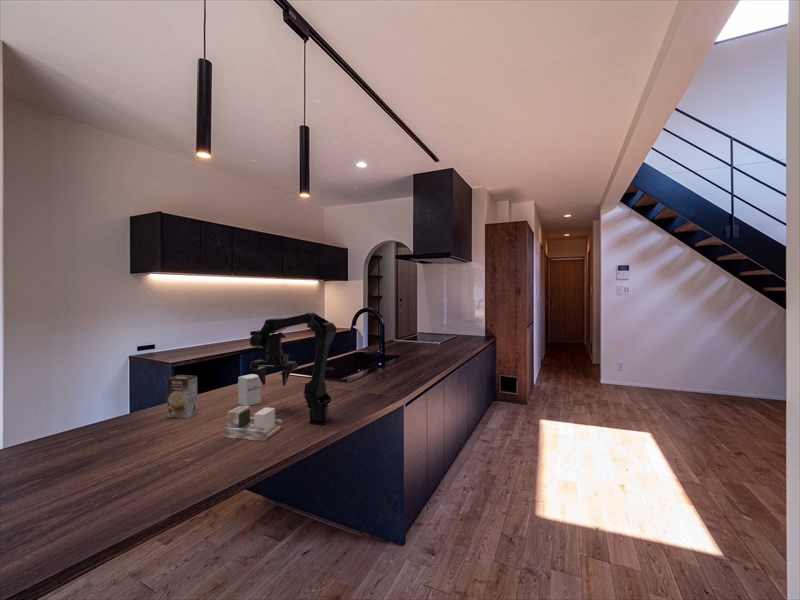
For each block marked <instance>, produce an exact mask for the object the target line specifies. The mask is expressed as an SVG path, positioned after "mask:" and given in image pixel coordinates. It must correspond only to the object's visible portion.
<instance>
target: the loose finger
mask: <svg viewBox="0 0 800 600" xmlns="http://www.w3.org/2000/svg"><path fill="white" fill-rule="evenodd" d="M253 417H254V429H256V430H267V432H269V431H270V430H271V429H273V428H274V427H275V419H276V408H275V407H263V408H262V409H260V410H259V411H257V412H255V413H254V414H253Z"/></svg>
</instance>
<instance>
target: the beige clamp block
mask: <svg viewBox="0 0 800 600" xmlns="http://www.w3.org/2000/svg"><path fill="white" fill-rule="evenodd" d="M281 428H282V429H283V419H279V418H278V419H277V418H275V427H274V428H273V429H271V430H270V431H269V432H267V430H256V429H254V416H253V417H252V416H251V405H250V406H243V405H239V406H237V407H235V408H233V409H231V410H229V411H228V412H227V426H225V427H223V438H226V437H227V438H228V439H236V438H238V439H239V440H247V439H248V440H250V441H258V440H259V442H261V441H262V442H266V441H267V440H269V439H270V438H271V437H272V436H274V435H275V434H277V433H278V432H279V431H281V430H282V429H281ZM277 431H278V432H277ZM273 434H274V435H273ZM269 437H270V438H269ZM227 438H226V439H227ZM268 438H269V439H268ZM238 439H237V440H238Z"/></svg>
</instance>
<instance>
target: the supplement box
mask: <svg viewBox="0 0 800 600" xmlns="http://www.w3.org/2000/svg"><path fill="white" fill-rule="evenodd" d="M237 378H238V379H237V383H238V385H237V387H238V389H237V393H238V394H237V397H238V399H237V400H238V401H237V402H238V405H240V406H250V407H251V406H253V405H257V404H261V403H262V382H261V380H260V378H259V376H258V375H257V374H256V373H255V374H254V373H250V374H246V375H241V376H238V377H237Z"/></svg>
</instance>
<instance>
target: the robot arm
mask: <svg viewBox="0 0 800 600" xmlns="http://www.w3.org/2000/svg"><path fill="white" fill-rule="evenodd" d="M305 324H307V325H308V327H309V329H310V330H311V331H312V332H313V333H314V340H315V342H316V350H315V354H314V355H315V356H314V363H313V368H312V374H311V379H310V381H308V382H306V383H305V384H304V390H303V394H304V395H303V396H304V399H305V401H306V404H307V407H308V409H309V421H308V423H309V424H315V425H325V424H326V423H327V422H329V420H331V417H330V416H329V404H331V402H332V396H330V395H329V394H328V392H327V385H326V382H325V374H326V368H327V363H328V358H329V352H330V345H331V344H332V342H333V341H334V339H335V336H336V334H337V326H336V325H335V324H334V323H333V322H329V320H327V319H326V318H324V317H321V316H319V315H318V314H317V313H316V312H305V313H304V314H300V315H295V316H291V317H277V318H269V319H266V320H264V324H263V326H262V328H261V329H260V331H259V330H256V331H253V334H251V336H250V339H249V344H250V346H251V347H253V348H261V349H263V348H265V349H266V351H264V355H266V359H257V360H253V361H251V362H250V364H249V366H250V367H249V368H250V369H251V370H252V371H253V372H255V374H256V375H258V376H259V378H260V380H261V385H263V386H265V385H266V379H267V378H266V371H267V368H282V370H281V378H282V381H281V382H282V386H283V387H286V385H287V382H288V379H289V377H290V374H291V372H293V371H295V370H296V369H298V368H299V367H298V365H299V364H298V362H297V361H296V360H295V361H293V360H289V354H286V353H284V350H283V349H282V339H285V338H286V337H287V336H286V335H285V334H284V333H283V332H282V331H284V330H287V329H288V328H290V327H295V326H301V325H305Z"/></svg>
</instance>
